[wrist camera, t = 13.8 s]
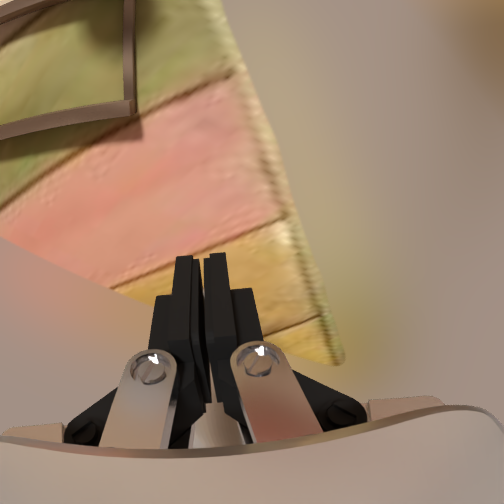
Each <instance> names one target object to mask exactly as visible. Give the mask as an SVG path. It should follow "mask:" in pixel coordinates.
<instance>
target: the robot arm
mask: <svg viewBox="0 0 504 504" xmlns="http://www.w3.org/2000/svg"><path fill="white" fill-rule="evenodd" d="M0 504H504V426H503V425H502V423H501V422H500V421H499V420H498V419H497V418H496V417H495V416H494V415H493V414H491V413H490V412H488V411H487V410H485V409H482V408H480V407H474V406H468V405H445V404H444V403H443V402H442V401H441V400H440V399H438V398H435V397H433V396H417V397H406V398H391V399H373V400H369V401H368V403H359V402H358V401H356V400H355V399H353V398H351V397H349V396H347V395H344V394H342V393H340V392H338V391H336V390H334V389H331V388H329V387H327V386H325V385H323V384H321V383H319V382H317V381H315V380H313V379H310V378H308V377H306V376H304V375H302V374H300V373H298V372H296V371H294V370H292V369H291V367H290V365H289V363H288V361H287V359H286V357H285V355H284V353H283V352H282V351H281V349H280V348H278V347H277V346H276V345H274V344H272V343H269V342H264V340H263V336H262V331H261V327H260V322H259V318H258V313H257V309H256V304H255V300H254V295H253V291H252V288H243V289H232V290H230V285H229V277H228V269H227V261H226V253H225V252H223V253H212V254H210V258H204V288H203V286H202V278H201V270H200V262H199V259H193V256H192V255H189V256H177V257H176V263H175V271H174V279H173V288H172V294H170V295H160V296H157V297H156V300H155V306H154V312H153V319H152V325H151V333H150V339H149V346H148V350H145V351H141V352H139V353H138V354H136V355H134V356H133V357H132V358H131V359H130V360H129V361H128V363H127V365H126V367H125V369H124V372H123V375H122V378H121V380H120V383H119V386H118V387H117V388H116V389H114V390H113V391H111V392H110V393H109V394H107V395H106V396H105V397H103V398H102V399H100V400H99V401H98V402H96V403H95V404H93V405H92V406H91V407H89V408H88V409H87V410H85V411H84V412H82V413H81V414H80V415H78V416H77V417H76V418H74V419H73V420H72V421H71V422H70V423H69V424H68V425H63V424H62V423H54V424H44V425H33V426H22V427H12V428H9V429H8V430H6V431H5V432H3V434H2V435H0Z"/></svg>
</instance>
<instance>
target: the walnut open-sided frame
mask: <svg viewBox="0 0 504 504" xmlns="http://www.w3.org/2000/svg"><path fill="white" fill-rule="evenodd" d="M66 1H69V0H13V1H11V2H9V3H6V4H4V5H2V6H0V25H1V24H3V23H5V22H8V21H10V20H13V19H15V18H18V17H20V16H23V15H26V14H28V13H31V12H34V11H37V10H40V9H43V8H46V7H49V6H52V5H55V4H59V3H62V2H66ZM135 4H136V0H124V14H123V80H124V100H120V101H113V102H106V103H99V104H93V105H87V106H81V107H76V108H70V109H65V110H60V111H55V112H51V113H46V114H42V115H38V116H33V117H29V118H25V119H21V120H18V121H14V122H10V123H7V124H3V125H0V140H2V139H6V138H10V137H14V136H18V135H22V134H26V133H31V132H35V131H40V130H45V129H49V128H54V127H60V126H65V125H70V124H76V123H82V122H88V121H95V120H102V119H109V118H117V117H125V116H131V115H132V114H134V113H136V95H135Z"/></svg>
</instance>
